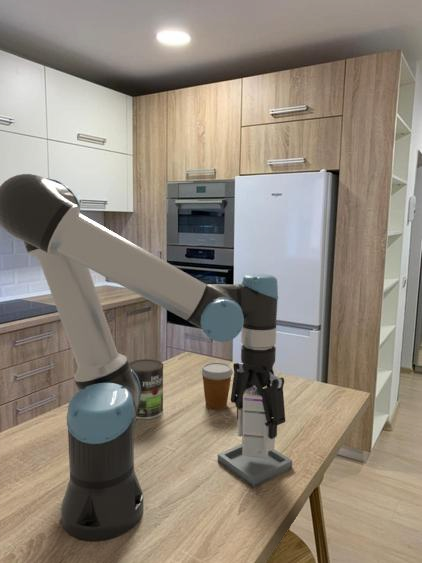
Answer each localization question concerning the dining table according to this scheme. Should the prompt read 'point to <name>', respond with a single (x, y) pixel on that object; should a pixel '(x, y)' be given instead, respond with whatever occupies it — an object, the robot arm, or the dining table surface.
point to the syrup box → (253, 424)
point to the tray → (254, 465)
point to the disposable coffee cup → (216, 384)
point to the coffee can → (149, 387)
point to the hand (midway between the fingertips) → (255, 441)
